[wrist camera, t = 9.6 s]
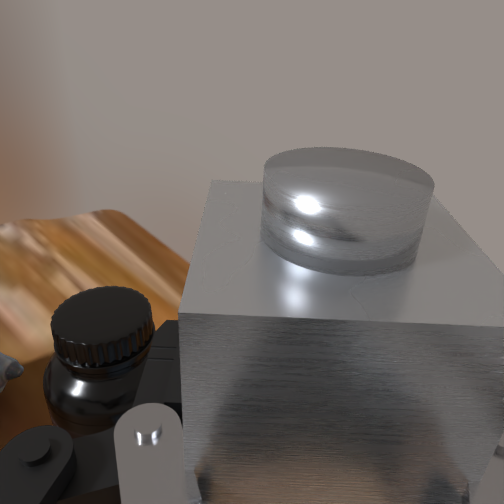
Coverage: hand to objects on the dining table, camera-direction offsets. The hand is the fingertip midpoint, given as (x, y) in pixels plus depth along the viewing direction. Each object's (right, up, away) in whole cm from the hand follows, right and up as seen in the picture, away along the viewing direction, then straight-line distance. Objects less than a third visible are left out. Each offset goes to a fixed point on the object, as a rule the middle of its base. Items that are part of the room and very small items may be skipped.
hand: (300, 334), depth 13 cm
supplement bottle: (-9, -11, +16) cm, 21 cm away
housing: (0, -7, +1) cm, 7 cm away
